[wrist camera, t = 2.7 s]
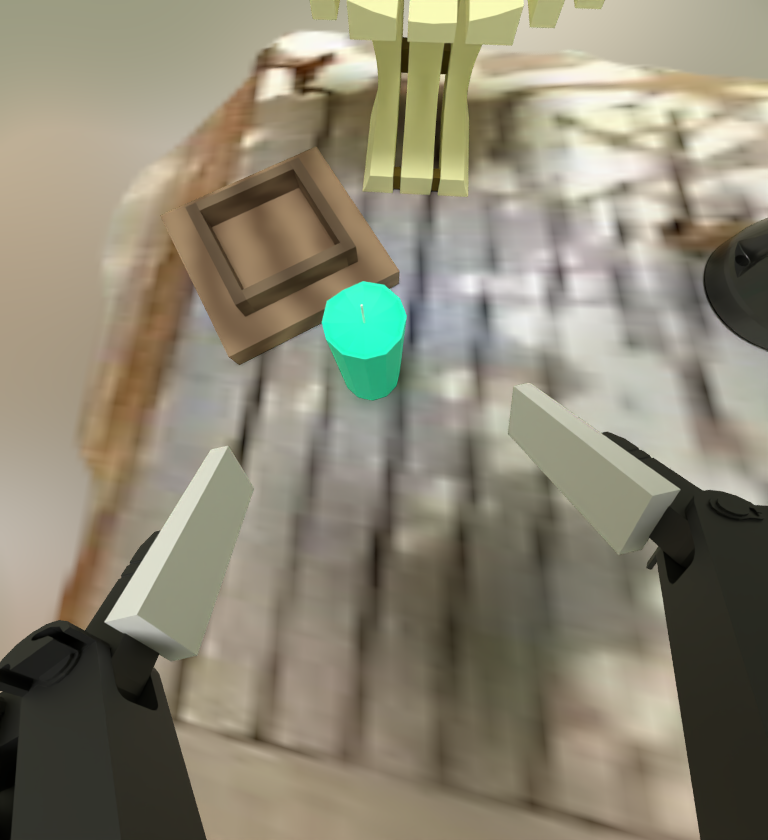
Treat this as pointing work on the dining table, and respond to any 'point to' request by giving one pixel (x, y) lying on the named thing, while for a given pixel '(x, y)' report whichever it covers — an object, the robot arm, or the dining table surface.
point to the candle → (366, 337)
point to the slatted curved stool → (429, 80)
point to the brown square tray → (276, 252)
